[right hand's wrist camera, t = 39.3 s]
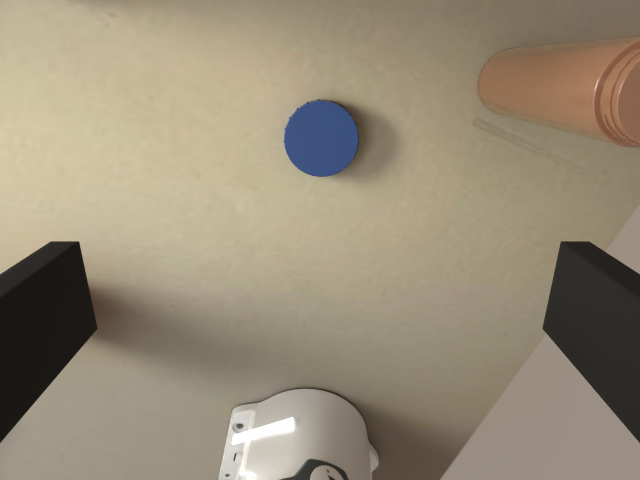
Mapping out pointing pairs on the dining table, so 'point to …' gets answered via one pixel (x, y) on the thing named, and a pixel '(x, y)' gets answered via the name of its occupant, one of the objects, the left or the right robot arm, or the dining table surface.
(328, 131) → the lid
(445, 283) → the dining table surface
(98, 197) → the dining table surface
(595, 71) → the jar
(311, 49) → the dining table surface
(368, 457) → the left robot arm
